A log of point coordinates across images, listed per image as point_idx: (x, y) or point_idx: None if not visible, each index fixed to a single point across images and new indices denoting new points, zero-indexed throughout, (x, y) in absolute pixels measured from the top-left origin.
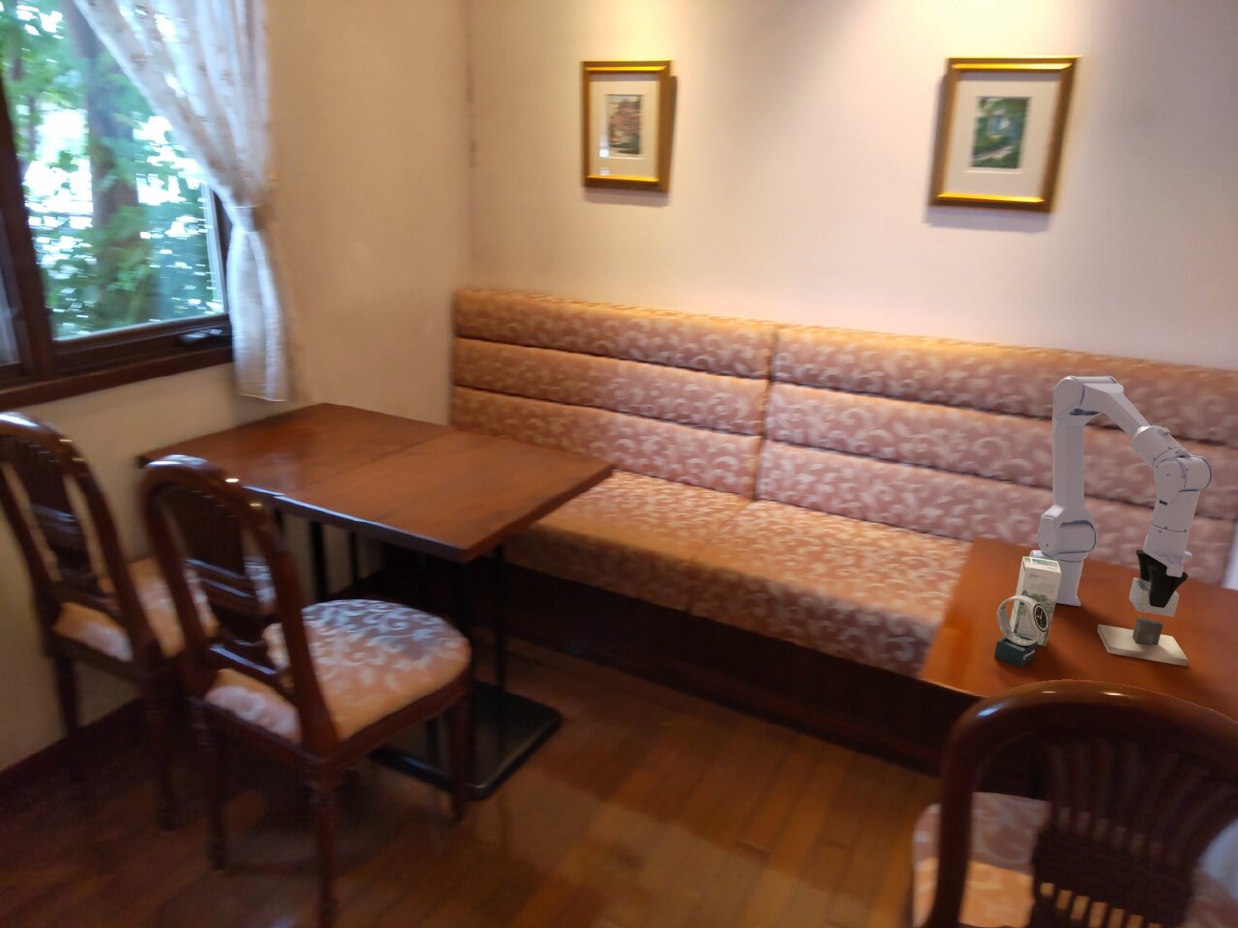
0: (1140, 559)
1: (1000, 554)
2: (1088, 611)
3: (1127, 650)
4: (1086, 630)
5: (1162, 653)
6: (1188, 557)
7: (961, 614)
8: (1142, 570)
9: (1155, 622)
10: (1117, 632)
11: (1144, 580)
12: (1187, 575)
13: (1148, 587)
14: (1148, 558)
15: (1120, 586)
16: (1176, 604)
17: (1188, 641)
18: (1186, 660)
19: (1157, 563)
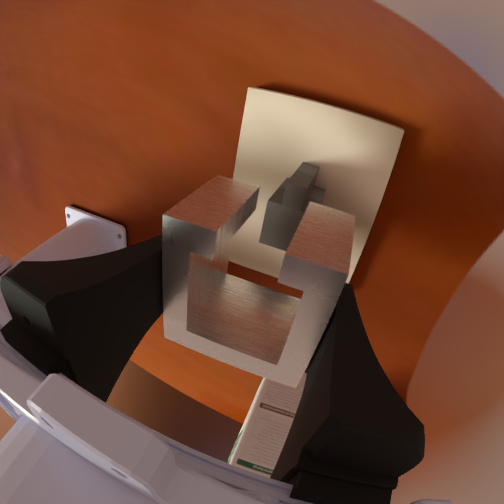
0: (111, 389)
1: (15, 252)
2: (138, 217)
3: (354, 265)
4: (235, 274)
5: (370, 184)
6: (168, 470)
7: (229, 413)
8: (138, 339)
9: (293, 205)
10: (257, 237)
11: (181, 318)
12: (410, 446)
13: (201, 287)
14: (98, 378)
15: (26, 101)
16: (351, 246)
17: (236, 34)
18: (402, 133)
19: (101, 332)
